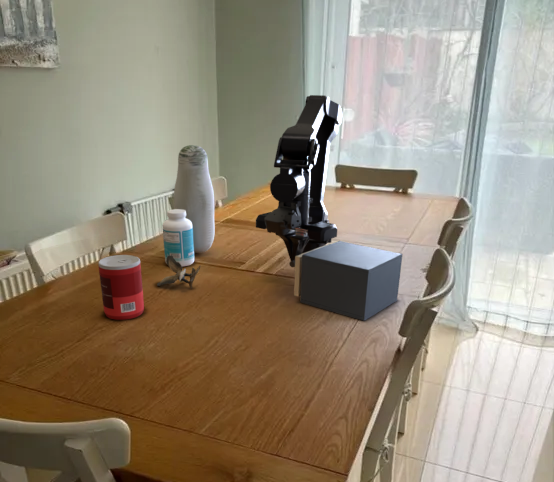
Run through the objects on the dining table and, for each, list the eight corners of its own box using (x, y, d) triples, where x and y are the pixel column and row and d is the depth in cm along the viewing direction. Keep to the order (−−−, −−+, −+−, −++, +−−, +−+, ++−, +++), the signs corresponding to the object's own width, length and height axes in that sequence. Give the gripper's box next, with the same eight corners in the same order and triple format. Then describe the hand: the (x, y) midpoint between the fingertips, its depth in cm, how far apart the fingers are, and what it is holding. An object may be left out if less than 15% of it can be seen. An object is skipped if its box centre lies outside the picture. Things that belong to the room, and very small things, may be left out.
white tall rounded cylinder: (170, 252, 150) (163, 145, 138) (198, 245, 157) (193, 142, 146) (195, 259, 144) (189, 148, 133) (222, 251, 151) (220, 145, 140)
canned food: (151, 308, 113) (147, 257, 108) (130, 323, 106) (124, 268, 101) (119, 303, 115) (114, 252, 110) (96, 317, 108) (89, 263, 104)
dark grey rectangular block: (300, 302, 117) (302, 254, 113) (336, 284, 128) (339, 240, 124) (364, 321, 109) (368, 270, 105) (397, 300, 120) (402, 253, 115)
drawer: (278, 291, 121) (279, 252, 117) (312, 276, 131) (314, 240, 127) (351, 311, 111) (355, 270, 107) (383, 294, 120) (387, 255, 117)
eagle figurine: (203, 276, 128) (169, 265, 130) (199, 257, 122) (163, 245, 124) (188, 301, 125) (153, 289, 126) (184, 283, 119) (147, 271, 120)
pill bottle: (189, 257, 146) (187, 206, 140) (198, 265, 140) (195, 212, 134) (161, 261, 143) (158, 209, 137) (169, 269, 137) (165, 215, 131)
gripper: (239, 193, 117) (239, 263, 124) (310, 205, 107) (307, 281, 114) (271, 186, 126) (270, 252, 132) (340, 197, 115) (336, 268, 122)
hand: (294, 263), depth 125 cm, fingers closed
